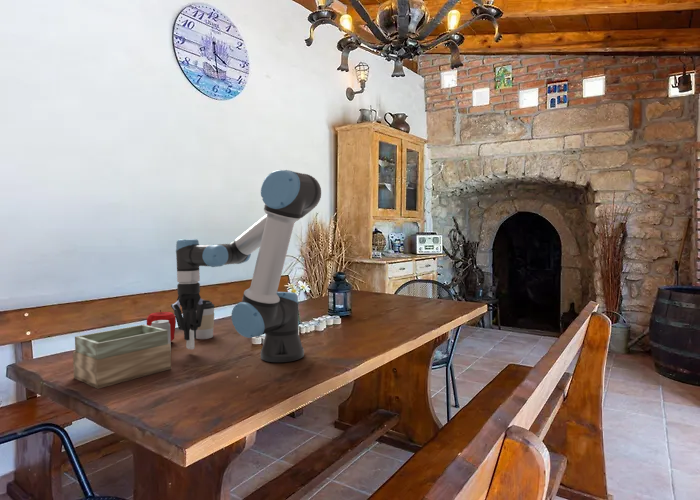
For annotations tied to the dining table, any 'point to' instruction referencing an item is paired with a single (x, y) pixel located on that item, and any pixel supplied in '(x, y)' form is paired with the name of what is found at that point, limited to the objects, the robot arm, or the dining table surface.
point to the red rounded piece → (163, 316)
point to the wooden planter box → (120, 355)
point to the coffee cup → (206, 322)
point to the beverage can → (163, 325)
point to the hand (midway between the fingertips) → (190, 348)
